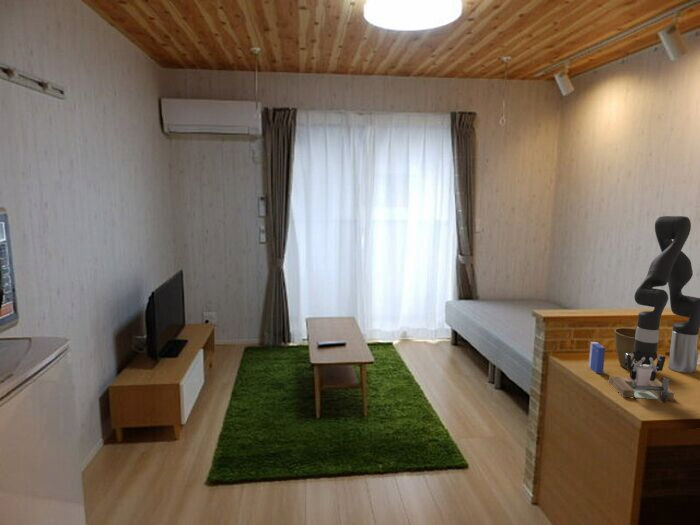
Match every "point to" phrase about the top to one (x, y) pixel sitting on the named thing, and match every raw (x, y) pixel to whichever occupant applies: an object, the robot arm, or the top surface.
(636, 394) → the bay mat
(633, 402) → the top surface
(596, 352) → the walkman
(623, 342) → the plant pot
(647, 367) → the smoothie
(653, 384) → the tan frame
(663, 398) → the dark grey piece
